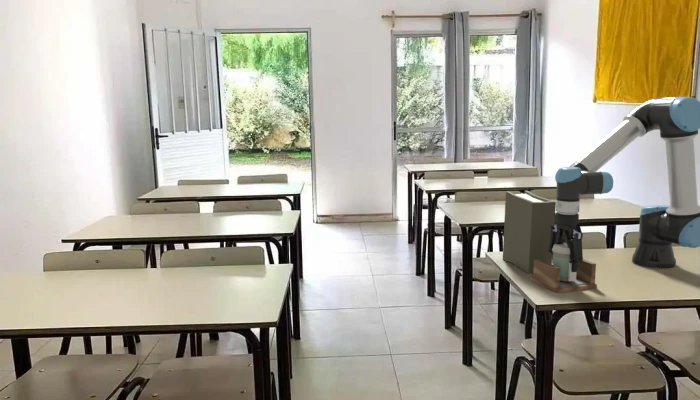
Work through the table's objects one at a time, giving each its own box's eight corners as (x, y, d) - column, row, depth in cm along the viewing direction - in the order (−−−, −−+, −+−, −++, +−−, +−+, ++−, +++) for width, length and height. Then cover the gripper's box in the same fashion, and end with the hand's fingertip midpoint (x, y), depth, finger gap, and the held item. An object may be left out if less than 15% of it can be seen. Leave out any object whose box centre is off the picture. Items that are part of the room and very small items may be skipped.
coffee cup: (578, 283, 195) (580, 249, 193) (552, 282, 197) (554, 248, 195) (574, 276, 204) (576, 243, 202) (549, 275, 205) (550, 242, 203)
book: (552, 274, 215) (557, 200, 210) (529, 275, 213) (533, 201, 208) (523, 258, 236) (527, 190, 230) (502, 259, 234) (505, 191, 228)
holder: (569, 276, 210) (570, 254, 208) (596, 287, 197) (598, 264, 195) (531, 281, 205) (532, 258, 203) (556, 292, 192) (558, 269, 190)
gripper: (539, 208, 205) (536, 270, 209) (578, 218, 186) (574, 287, 190) (557, 207, 207) (554, 268, 211) (597, 217, 188) (593, 284, 192)
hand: (563, 277), depth 200 cm, fingers closed on coffee cup, 8 cm apart
